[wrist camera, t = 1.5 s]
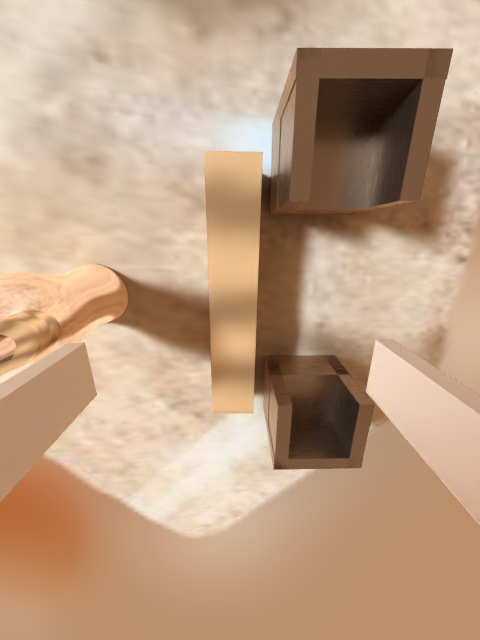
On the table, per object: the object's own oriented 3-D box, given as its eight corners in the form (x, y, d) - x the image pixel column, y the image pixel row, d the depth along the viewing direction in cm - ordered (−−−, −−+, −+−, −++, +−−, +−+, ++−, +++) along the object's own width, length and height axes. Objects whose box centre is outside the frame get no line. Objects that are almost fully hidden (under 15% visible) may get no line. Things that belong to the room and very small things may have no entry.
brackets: (272, 123, 20) (297, 47, 12) (366, 123, 20) (453, 48, 12) (263, 406, 30) (273, 469, 22) (327, 405, 30) (361, 467, 22)
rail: (212, 172, 21) (204, 151, 16) (256, 172, 22) (262, 152, 16) (216, 381, 29) (212, 413, 23) (250, 381, 29) (253, 413, 24)
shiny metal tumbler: (134, 266, 24) (-16, 309, 10) (131, 330, 26) (6, 440, 12) (62, 253, 23) (-209, 277, 9) (65, 319, 25) (-148, 421, 11)
